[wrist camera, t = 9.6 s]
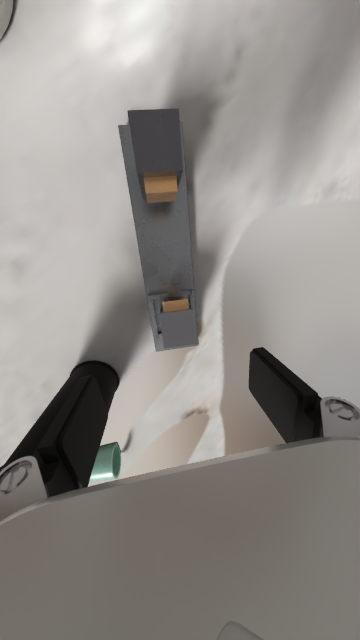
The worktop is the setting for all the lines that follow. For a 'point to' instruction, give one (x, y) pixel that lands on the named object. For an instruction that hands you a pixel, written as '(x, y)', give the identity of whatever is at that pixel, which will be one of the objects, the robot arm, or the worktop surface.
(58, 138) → the worktop surface
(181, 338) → the dark grey block
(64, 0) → the worktop surface
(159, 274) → the rail
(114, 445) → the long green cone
